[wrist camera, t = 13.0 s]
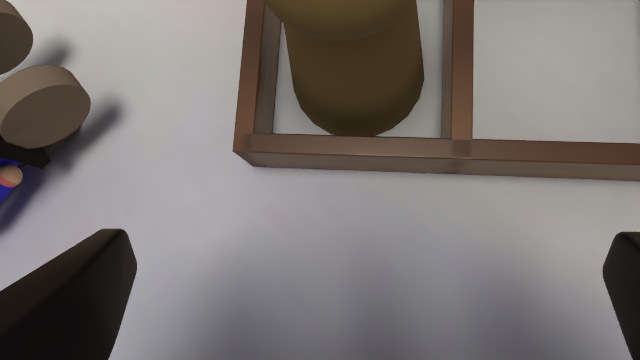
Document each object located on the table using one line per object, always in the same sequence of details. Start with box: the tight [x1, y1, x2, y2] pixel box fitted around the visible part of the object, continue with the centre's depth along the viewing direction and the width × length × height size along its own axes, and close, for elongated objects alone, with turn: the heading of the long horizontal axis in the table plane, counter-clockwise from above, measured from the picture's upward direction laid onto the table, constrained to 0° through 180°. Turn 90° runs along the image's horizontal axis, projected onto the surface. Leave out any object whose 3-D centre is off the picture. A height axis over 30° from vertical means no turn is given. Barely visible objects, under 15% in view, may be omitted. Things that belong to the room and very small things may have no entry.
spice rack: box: [233, 0, 640, 181], centre depth 19 cm, size 9×18×3 cm, turn 86°
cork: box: [263, 0, 424, 136], centre depth 16 cm, size 6×6×11 cm
